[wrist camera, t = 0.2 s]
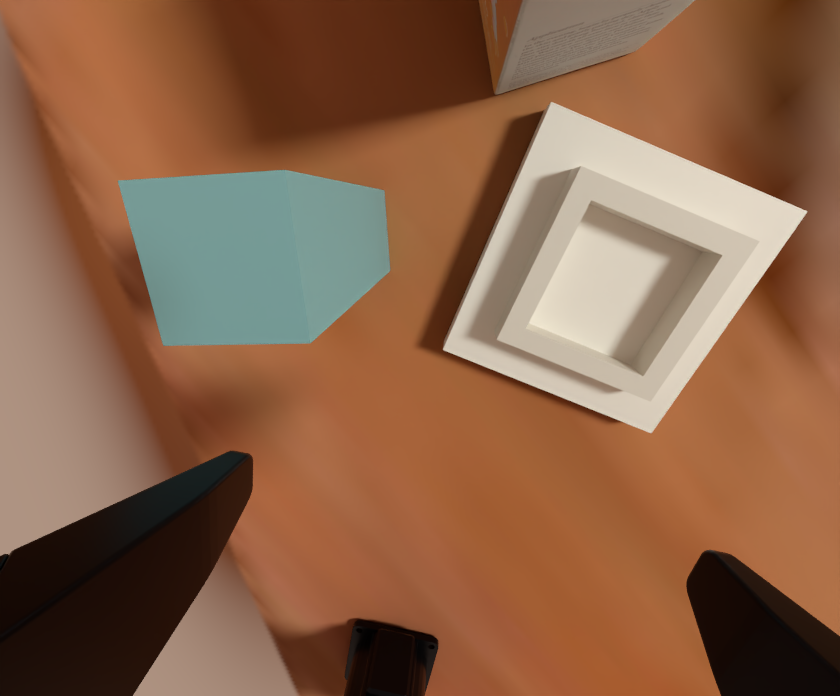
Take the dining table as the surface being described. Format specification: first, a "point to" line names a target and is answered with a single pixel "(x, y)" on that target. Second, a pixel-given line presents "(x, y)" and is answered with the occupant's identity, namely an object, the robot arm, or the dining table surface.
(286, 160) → the dining table surface
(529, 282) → the plinth
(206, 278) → the pillar
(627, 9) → the small box
